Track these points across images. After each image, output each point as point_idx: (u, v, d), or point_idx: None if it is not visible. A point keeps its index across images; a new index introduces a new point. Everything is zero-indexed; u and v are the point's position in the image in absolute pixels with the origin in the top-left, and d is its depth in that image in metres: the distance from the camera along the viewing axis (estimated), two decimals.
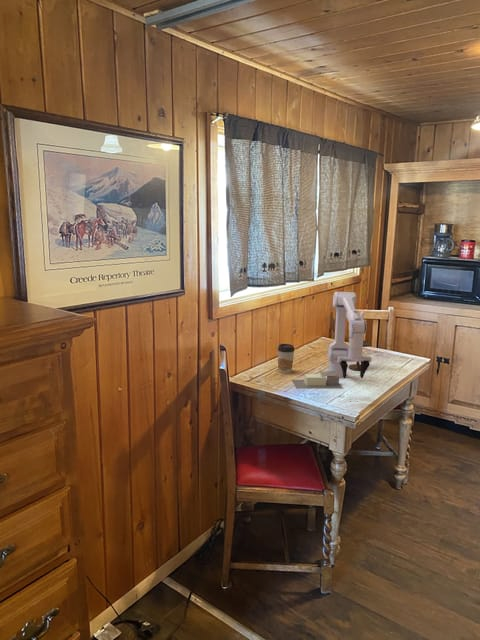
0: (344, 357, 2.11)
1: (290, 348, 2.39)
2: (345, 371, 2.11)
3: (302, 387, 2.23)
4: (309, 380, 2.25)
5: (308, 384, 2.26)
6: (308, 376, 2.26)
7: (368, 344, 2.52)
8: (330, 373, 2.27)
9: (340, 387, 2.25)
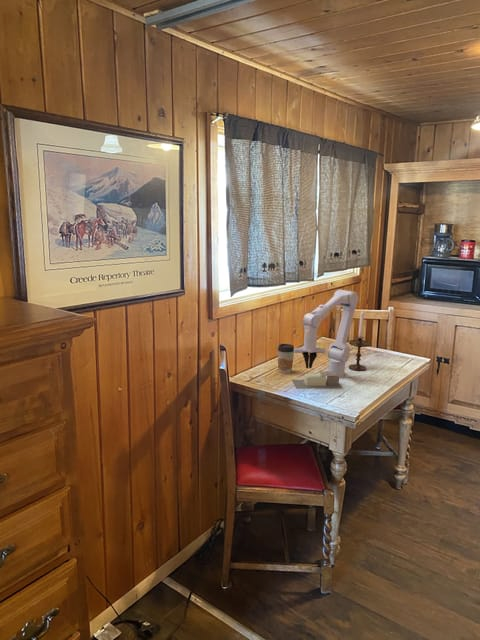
0: (299, 348, 2.24)
1: (290, 348, 2.39)
2: (307, 362, 2.24)
3: (302, 387, 2.23)
4: (309, 380, 2.25)
5: (308, 384, 2.26)
6: (308, 376, 2.26)
7: (368, 344, 2.52)
8: (330, 373, 2.27)
9: (340, 387, 2.25)
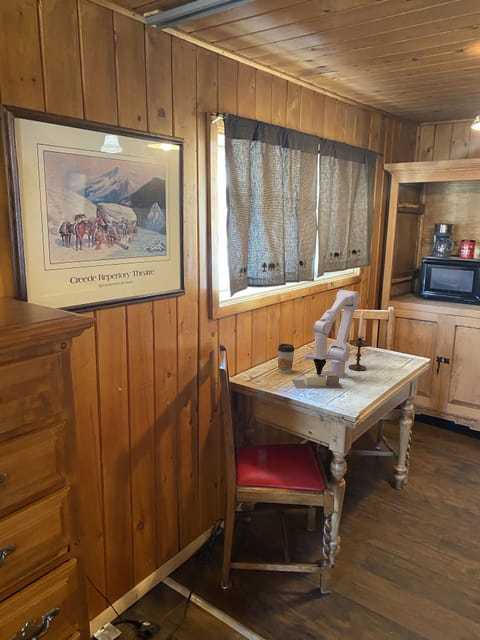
0: (310, 355, 2.25)
1: (290, 348, 2.39)
2: (318, 368, 2.25)
3: (302, 387, 2.23)
4: (309, 380, 2.25)
5: (308, 384, 2.26)
6: (308, 376, 2.26)
7: (368, 344, 2.52)
8: (330, 373, 2.27)
9: (340, 387, 2.25)
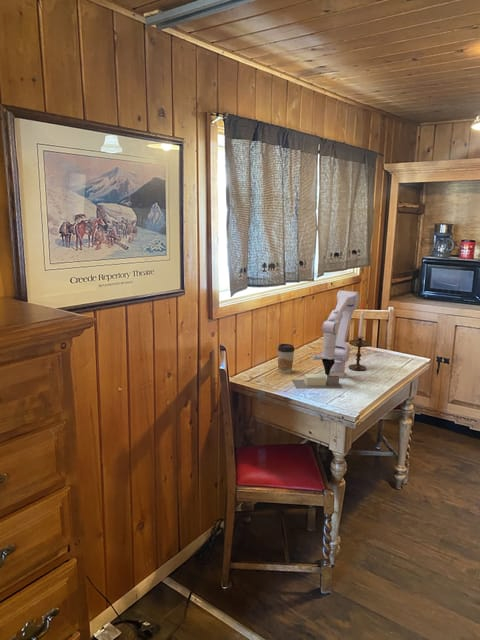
0: (318, 355, 2.25)
1: (290, 348, 2.39)
2: (327, 368, 2.26)
3: (302, 387, 2.23)
4: (309, 380, 2.25)
5: (308, 384, 2.26)
6: (308, 376, 2.26)
7: (368, 344, 2.52)
8: (338, 373, 2.27)
9: (340, 387, 2.25)
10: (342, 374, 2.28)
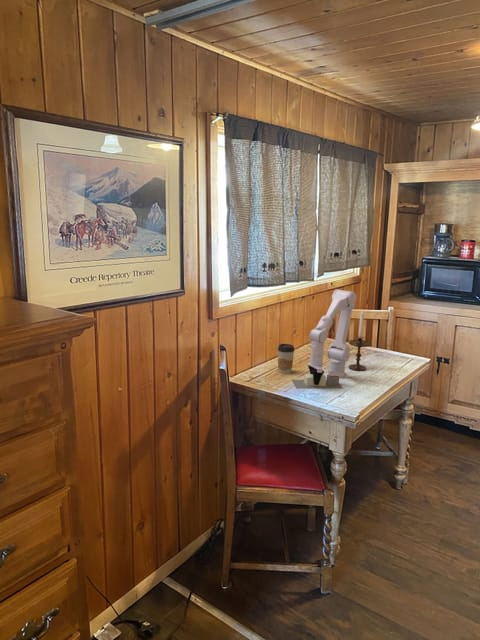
0: None
1: (290, 348, 2.39)
2: (310, 373, 2.31)
3: (302, 387, 2.23)
4: (309, 380, 2.25)
5: (308, 384, 2.26)
6: (308, 376, 2.26)
7: (368, 344, 2.52)
8: (338, 373, 2.27)
9: (340, 387, 2.25)
10: (342, 374, 2.28)
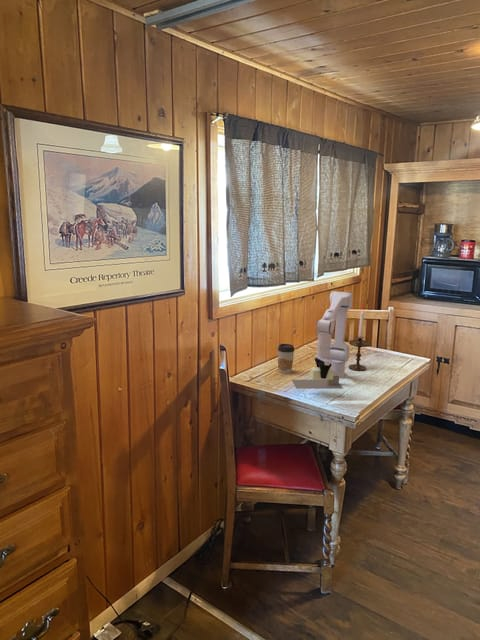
0: None
1: (290, 348, 2.39)
2: (317, 366, 2.18)
3: (302, 387, 2.23)
4: (316, 373, 2.13)
5: (315, 378, 2.13)
6: (314, 370, 2.14)
7: (368, 344, 2.52)
8: (338, 373, 2.27)
9: (340, 387, 2.25)
10: (342, 374, 2.28)
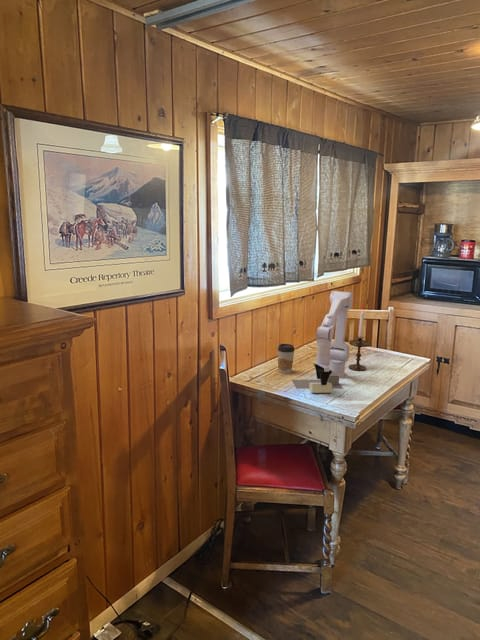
0: None
1: (290, 348, 2.39)
2: (316, 371, 2.23)
3: (302, 387, 2.23)
4: (314, 386, 2.16)
5: (314, 391, 2.16)
6: (313, 383, 2.17)
7: (368, 344, 2.52)
8: (338, 373, 2.27)
9: (340, 387, 2.25)
10: (342, 374, 2.28)
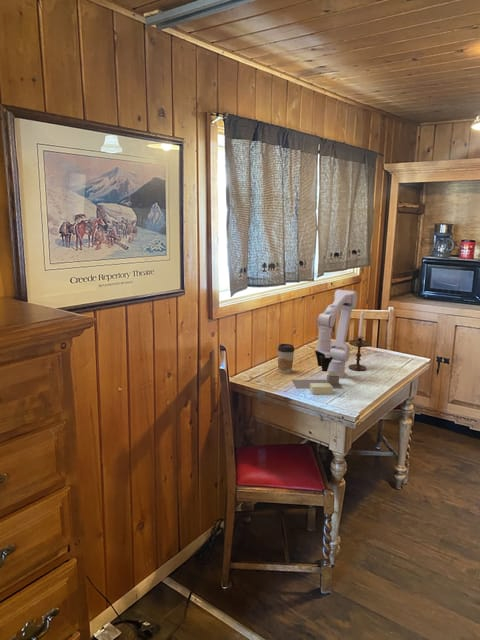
0: None
1: (290, 348, 2.39)
2: (317, 359, 2.26)
3: (302, 387, 2.23)
4: (315, 390, 2.15)
5: None
6: (314, 386, 2.16)
7: (368, 344, 2.52)
8: (338, 373, 2.27)
9: (340, 387, 2.25)
10: (342, 374, 2.28)
